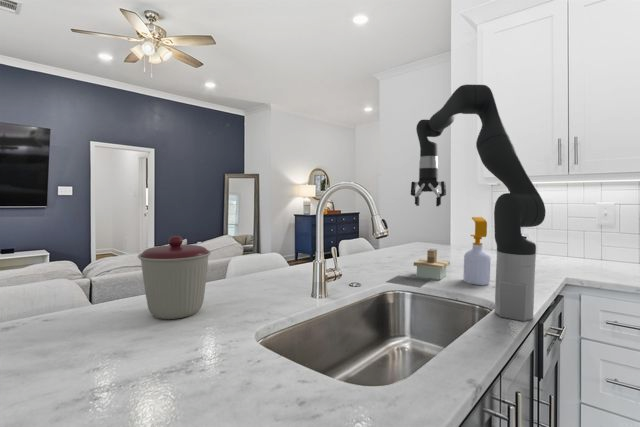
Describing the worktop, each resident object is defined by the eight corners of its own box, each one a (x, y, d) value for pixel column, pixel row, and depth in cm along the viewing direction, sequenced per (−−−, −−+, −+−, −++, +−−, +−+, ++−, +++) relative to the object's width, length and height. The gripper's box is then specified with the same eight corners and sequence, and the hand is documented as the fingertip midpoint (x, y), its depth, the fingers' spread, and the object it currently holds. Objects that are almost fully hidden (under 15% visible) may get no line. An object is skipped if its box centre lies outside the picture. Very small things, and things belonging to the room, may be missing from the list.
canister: (142, 331, 81) (140, 242, 80) (136, 309, 96) (134, 234, 95) (219, 317, 90) (218, 237, 89) (202, 299, 106) (202, 231, 105)
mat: (420, 288, 120) (420, 287, 120) (385, 283, 127) (385, 281, 127) (430, 281, 131) (430, 280, 131) (398, 276, 138) (398, 275, 138)
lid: (442, 269, 129) (442, 253, 128) (413, 265, 135) (413, 250, 134) (449, 264, 138) (450, 249, 137) (422, 261, 144) (422, 247, 144)
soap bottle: (483, 279, 134) (485, 216, 132) (493, 285, 125) (496, 218, 123) (459, 279, 134) (461, 216, 133) (468, 285, 125) (470, 218, 124)
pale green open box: (439, 281, 130) (440, 268, 130) (416, 278, 135) (416, 265, 135) (446, 276, 138) (446, 264, 137) (423, 273, 143) (423, 261, 143)
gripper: (409, 167, 146) (408, 205, 147) (443, 166, 138) (442, 206, 139) (414, 168, 152) (414, 205, 153) (448, 167, 144) (447, 206, 145)
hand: (427, 206), depth 146 cm, fingers open, 8 cm apart
